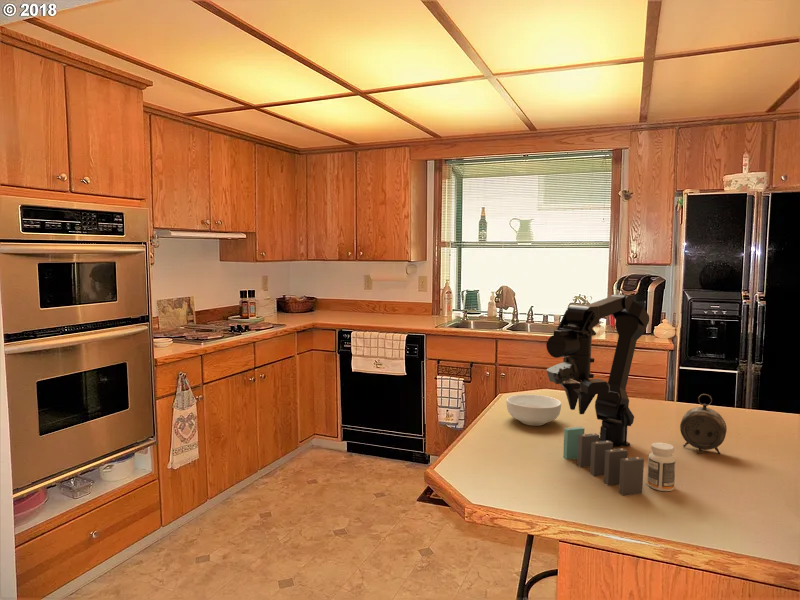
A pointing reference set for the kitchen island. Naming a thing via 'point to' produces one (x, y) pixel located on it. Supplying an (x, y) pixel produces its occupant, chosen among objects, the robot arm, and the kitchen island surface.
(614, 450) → the domino
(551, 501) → the kitchen island surface
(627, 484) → the domino
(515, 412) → the cereal bowl
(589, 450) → the domino
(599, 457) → the domino
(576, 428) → the domino
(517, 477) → the kitchen island surface
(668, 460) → the pill bottle
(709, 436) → the alarm clock
